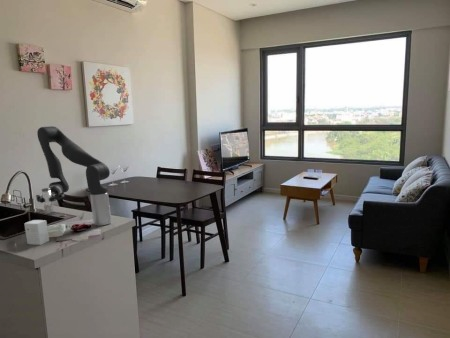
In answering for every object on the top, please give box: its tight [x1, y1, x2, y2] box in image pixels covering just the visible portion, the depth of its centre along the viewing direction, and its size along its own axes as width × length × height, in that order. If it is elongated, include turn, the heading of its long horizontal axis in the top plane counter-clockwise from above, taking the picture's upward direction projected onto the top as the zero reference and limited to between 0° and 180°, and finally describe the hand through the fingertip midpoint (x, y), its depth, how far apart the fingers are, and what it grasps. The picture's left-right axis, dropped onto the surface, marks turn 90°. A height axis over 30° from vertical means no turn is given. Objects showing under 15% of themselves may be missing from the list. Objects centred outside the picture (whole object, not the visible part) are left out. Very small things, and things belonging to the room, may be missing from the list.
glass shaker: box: [41, 187, 54, 214], centre depth 173 cm, size 4×4×12 cm
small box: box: [23, 219, 50, 246], centre depth 164 cm, size 8×6×10 cm
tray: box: [47, 223, 66, 239], centre depth 176 cm, size 11×11×3 cm
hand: (46, 200), depth 171 cm, fingers closed on glass shaker, 4 cm apart
